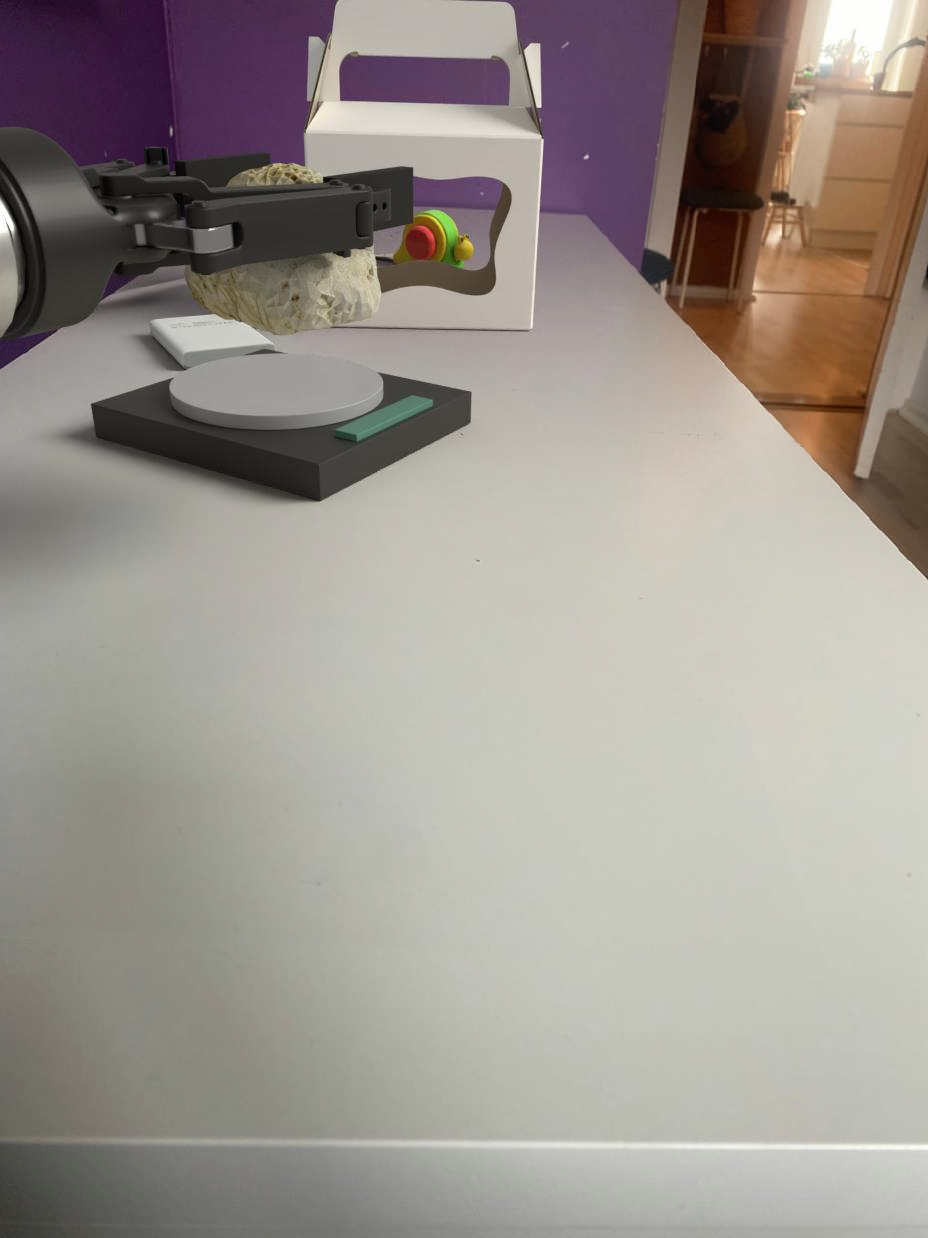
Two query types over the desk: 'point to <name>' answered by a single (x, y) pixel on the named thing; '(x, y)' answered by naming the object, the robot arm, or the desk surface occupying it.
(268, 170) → the decorative item
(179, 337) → the hard drive
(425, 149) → the gable box
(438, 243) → the toy measuring tape
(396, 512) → the desk surface
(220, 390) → the scale
